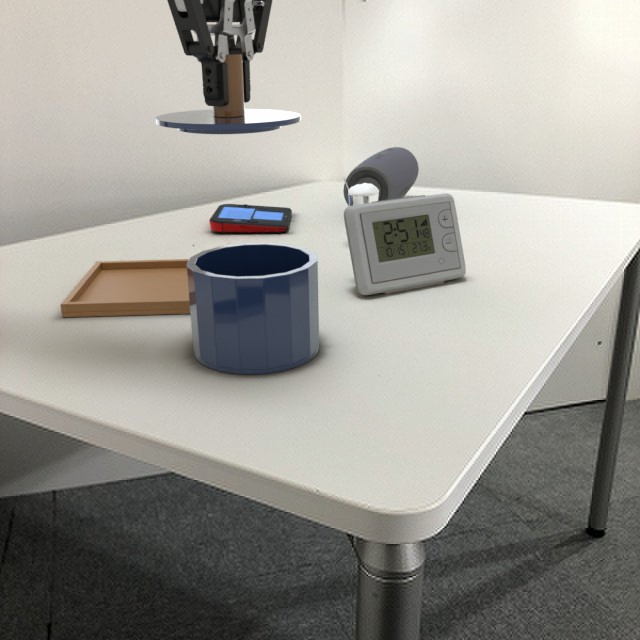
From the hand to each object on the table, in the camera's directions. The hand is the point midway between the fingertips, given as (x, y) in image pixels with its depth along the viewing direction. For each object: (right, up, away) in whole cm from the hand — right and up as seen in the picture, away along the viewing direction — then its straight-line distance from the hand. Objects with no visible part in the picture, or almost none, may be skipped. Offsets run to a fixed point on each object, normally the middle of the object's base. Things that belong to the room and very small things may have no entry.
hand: (227, 103), depth 73 cm
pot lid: (0, -2, +1) cm, 2 cm away
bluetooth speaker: (+20, -1, +67) cm, 70 cm away
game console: (-3, -4, +58) cm, 58 cm away
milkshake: (+15, -9, +44) cm, 48 cm away
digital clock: (+19, -16, +26) cm, 36 cm away
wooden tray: (-13, -17, +25) cm, 32 cm away
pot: (+2, -23, +6) cm, 24 cm away
